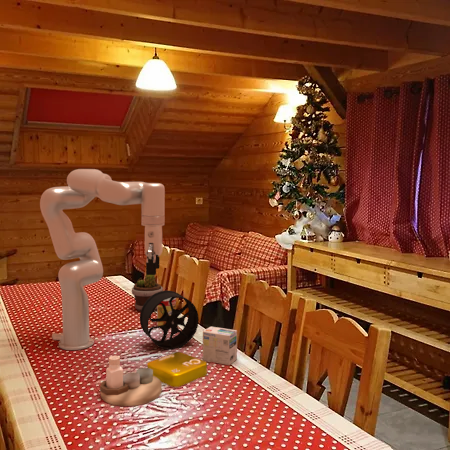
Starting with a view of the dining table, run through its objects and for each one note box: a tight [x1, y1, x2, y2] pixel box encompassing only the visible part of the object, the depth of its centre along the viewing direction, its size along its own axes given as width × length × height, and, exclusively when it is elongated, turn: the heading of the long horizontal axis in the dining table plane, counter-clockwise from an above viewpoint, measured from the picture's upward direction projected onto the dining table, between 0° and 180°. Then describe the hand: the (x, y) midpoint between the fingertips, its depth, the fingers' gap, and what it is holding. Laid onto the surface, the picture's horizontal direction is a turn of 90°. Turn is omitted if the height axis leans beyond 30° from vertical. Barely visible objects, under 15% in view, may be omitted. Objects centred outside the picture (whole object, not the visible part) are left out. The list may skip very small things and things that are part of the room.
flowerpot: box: [131, 273, 164, 312], centre depth 235 cm, size 14×15×20 cm
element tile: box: [146, 351, 208, 388], centre depth 162 cm, size 15×15×5 cm
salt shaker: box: [105, 355, 124, 388], centre depth 147 cm, size 4×4×10 cm
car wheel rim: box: [139, 290, 200, 350], centre depth 188 cm, size 20×10×20 cm, turn 116°
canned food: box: [156, 298, 177, 326], centre depth 211 cm, size 8×8×12 cm
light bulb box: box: [202, 326, 238, 366], centre depth 174 cm, size 11×7×11 cm, turn 65°
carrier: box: [99, 367, 163, 407], centre depth 149 cm, size 18×18×5 cm
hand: (152, 271), depth 166 cm, fingers open, 9 cm apart
